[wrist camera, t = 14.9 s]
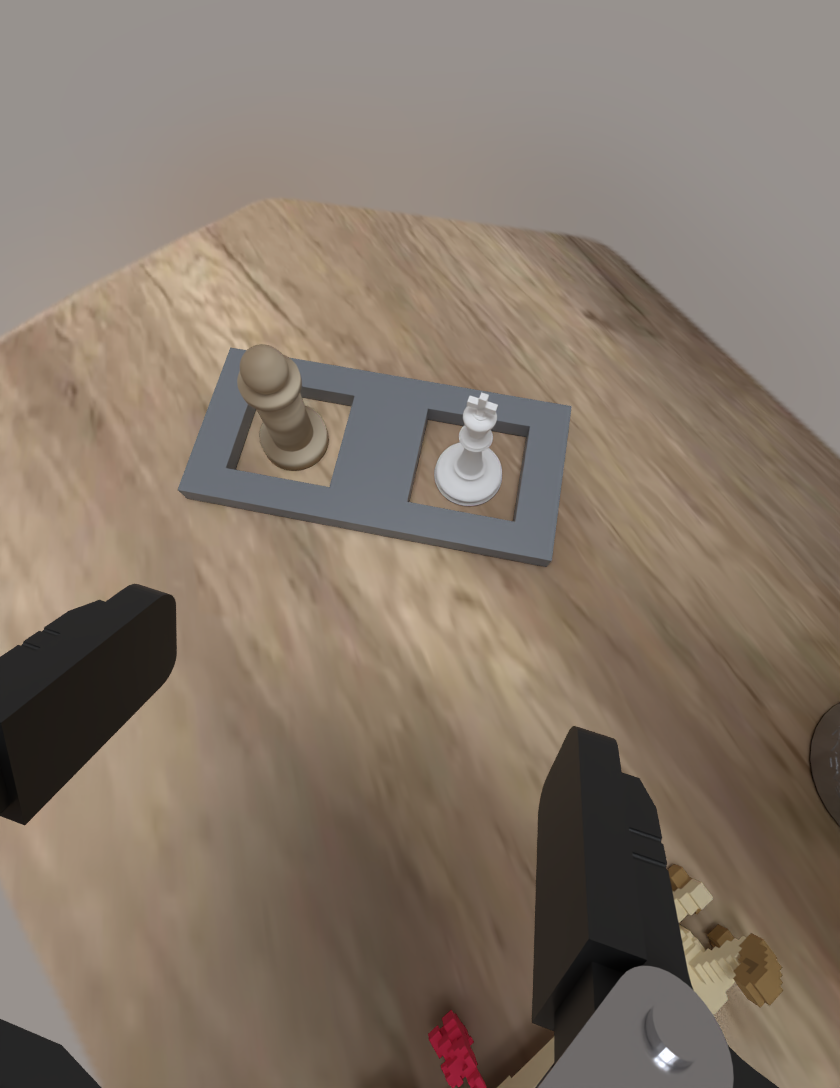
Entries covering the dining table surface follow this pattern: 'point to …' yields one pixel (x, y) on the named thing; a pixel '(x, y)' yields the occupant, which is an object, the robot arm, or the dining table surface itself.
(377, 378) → the grey chess piece holder
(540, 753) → the dining table surface
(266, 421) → the pawn
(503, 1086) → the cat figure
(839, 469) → the dining table surface
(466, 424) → the chess piece
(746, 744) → the dining table surface
